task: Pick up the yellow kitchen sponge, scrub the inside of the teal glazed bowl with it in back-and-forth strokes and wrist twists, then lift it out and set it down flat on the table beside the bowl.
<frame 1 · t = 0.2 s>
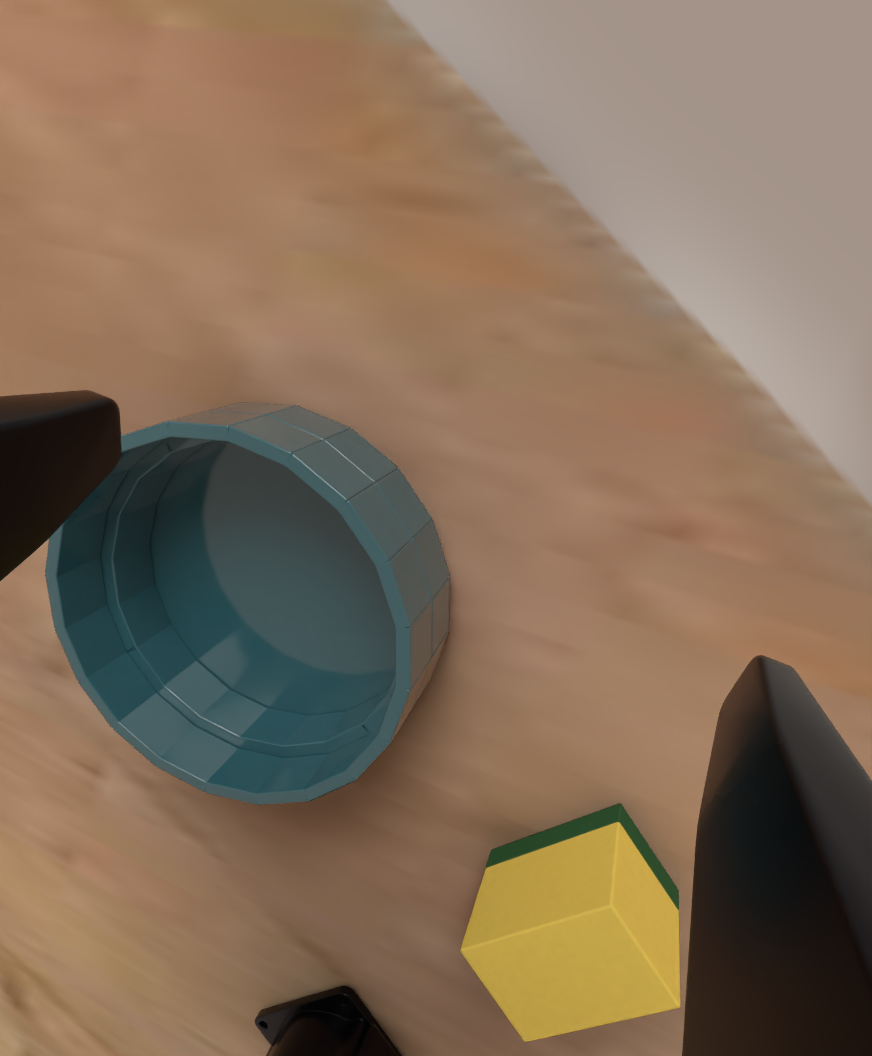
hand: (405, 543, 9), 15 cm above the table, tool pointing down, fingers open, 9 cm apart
sponge: (581, 868, 28), on the table
bowl: (288, 574, 28), on the table
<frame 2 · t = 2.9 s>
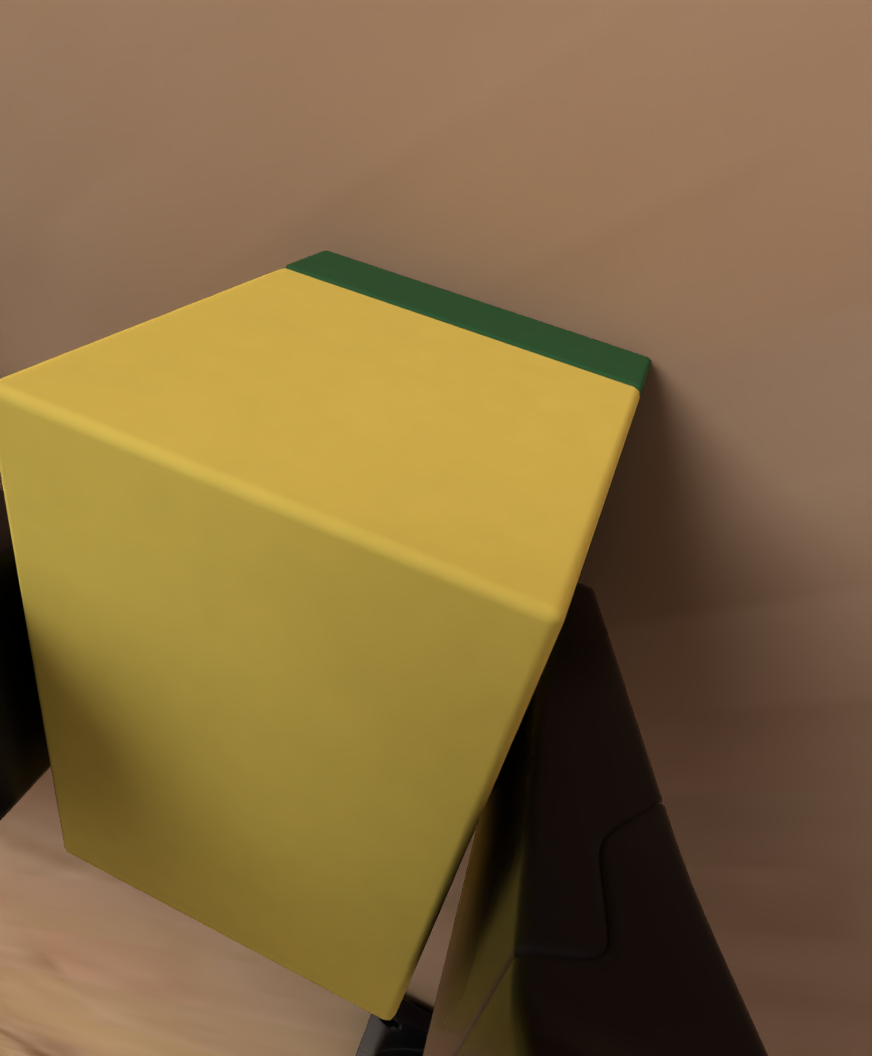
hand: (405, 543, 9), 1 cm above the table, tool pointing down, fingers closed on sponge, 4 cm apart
sponge: (431, 505, 10), on the table, touching gripper
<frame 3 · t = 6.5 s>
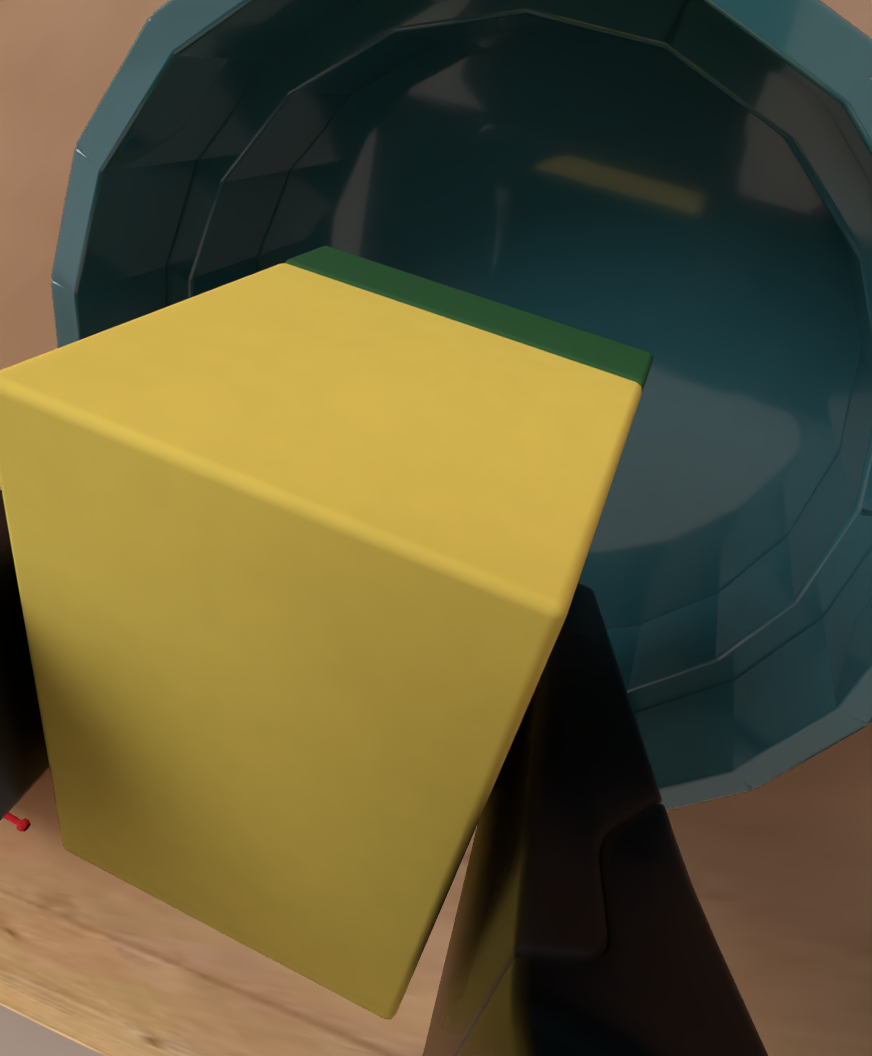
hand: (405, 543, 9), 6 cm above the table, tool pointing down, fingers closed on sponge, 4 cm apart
sponge: (431, 502, 10), point 5 cm above the table, touching gripper
bowl: (522, 379, 15), on the table
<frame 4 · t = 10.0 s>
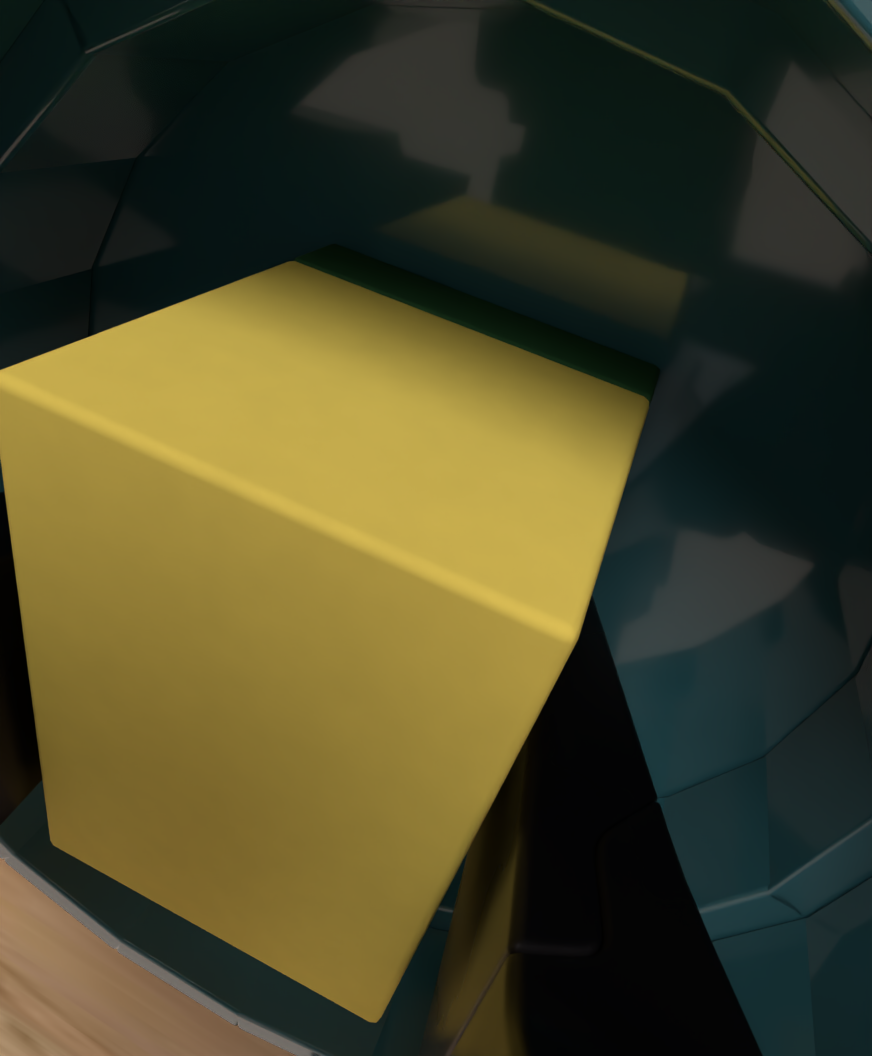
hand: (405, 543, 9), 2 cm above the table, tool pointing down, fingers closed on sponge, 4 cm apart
sponge: (430, 505, 10), point 1 cm above the table, touching gripper
bowl: (446, 492, 11), on the table
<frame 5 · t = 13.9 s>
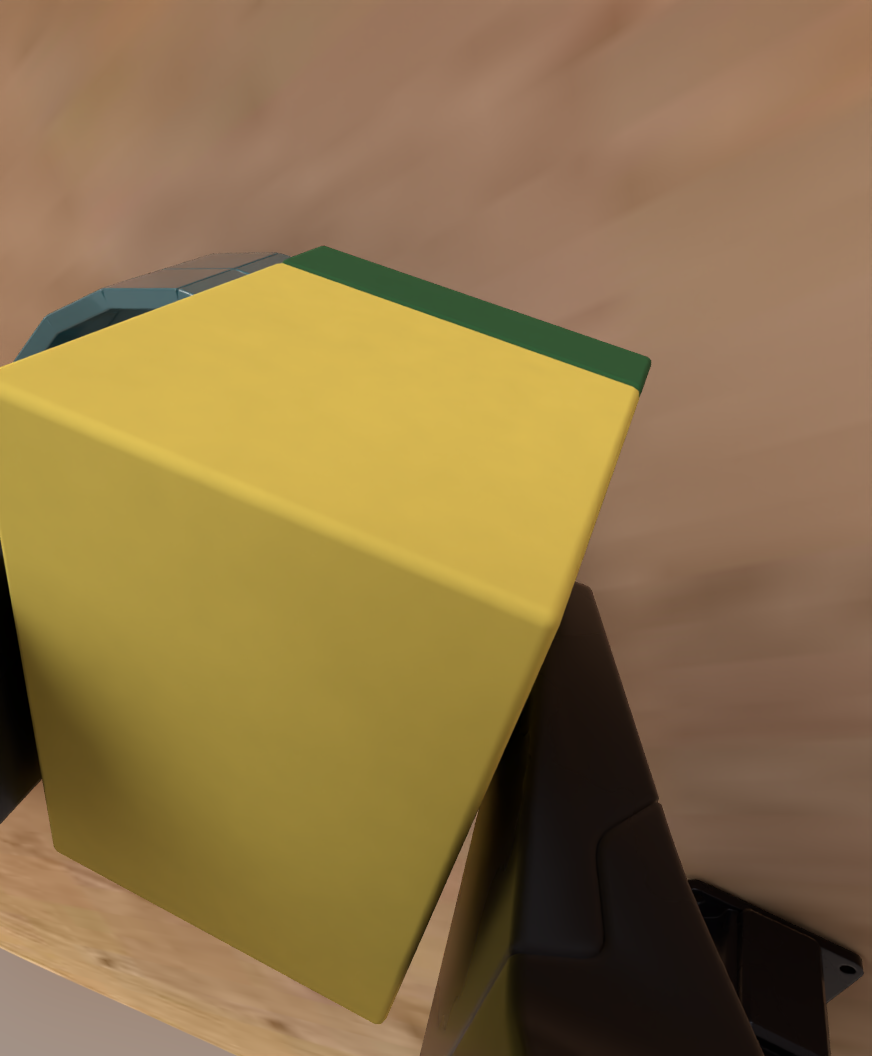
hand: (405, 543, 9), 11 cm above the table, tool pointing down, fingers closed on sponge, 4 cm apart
sponge: (427, 504, 10), point 10 cm above the table, touching gripper
bowl: (298, 467, 24), on the table
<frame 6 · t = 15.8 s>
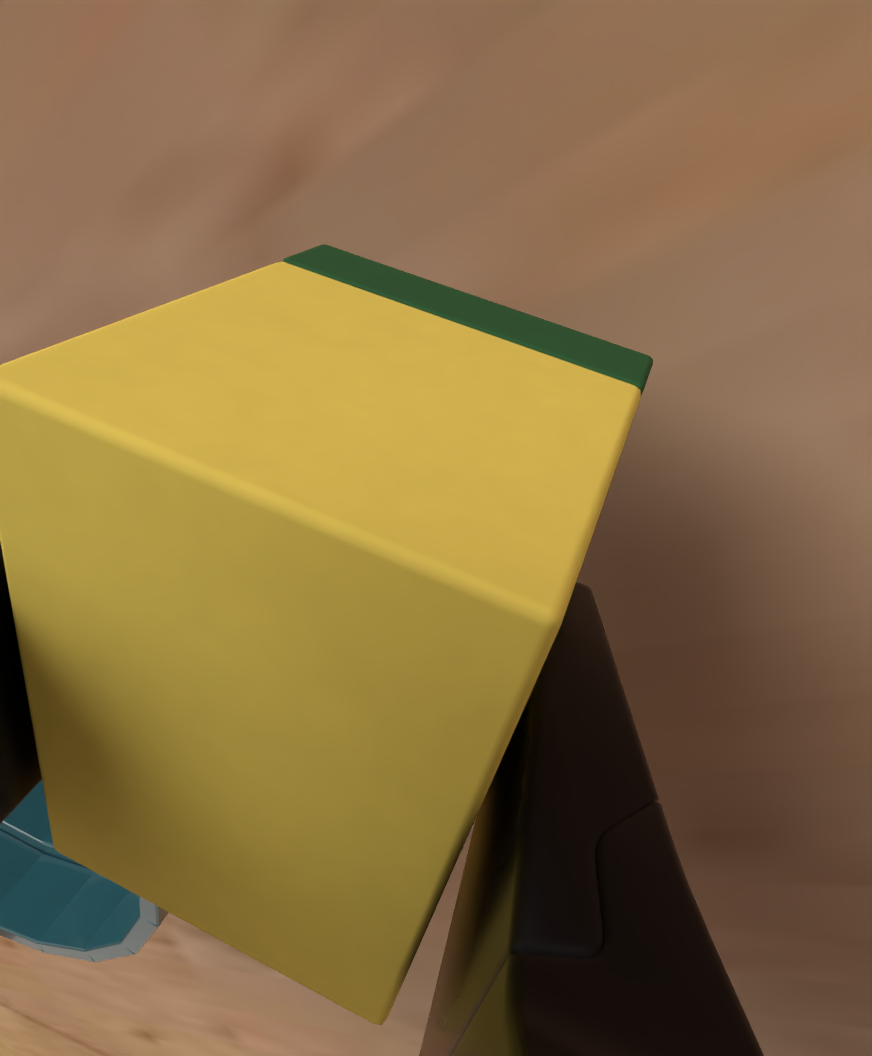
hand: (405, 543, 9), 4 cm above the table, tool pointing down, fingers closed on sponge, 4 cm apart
sponge: (428, 504, 10), point 3 cm above the table, touching gripper
bowl: (68, 633, 20), on the table
when the fingers open (1 cm above the table, at t = 17.0 s): sponge stays where it is, on the table.
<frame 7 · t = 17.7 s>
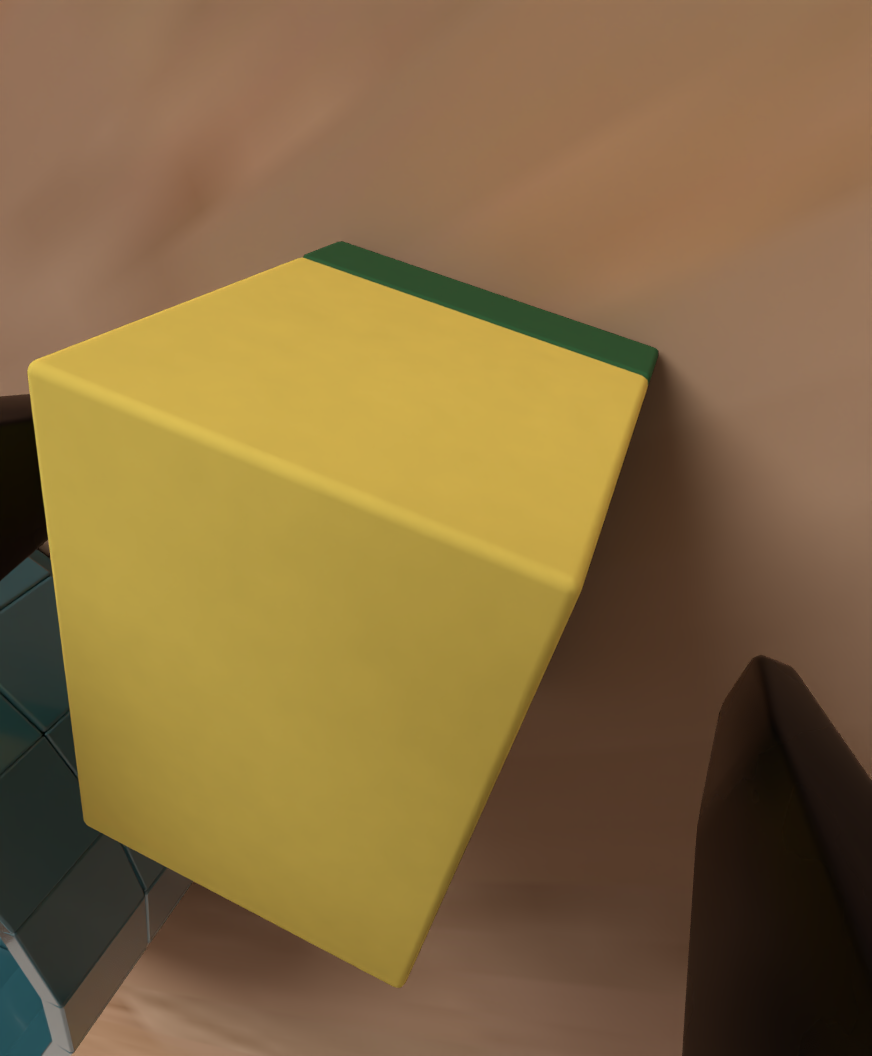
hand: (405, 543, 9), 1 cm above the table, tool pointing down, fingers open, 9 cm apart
sponge: (440, 493, 10), on the table
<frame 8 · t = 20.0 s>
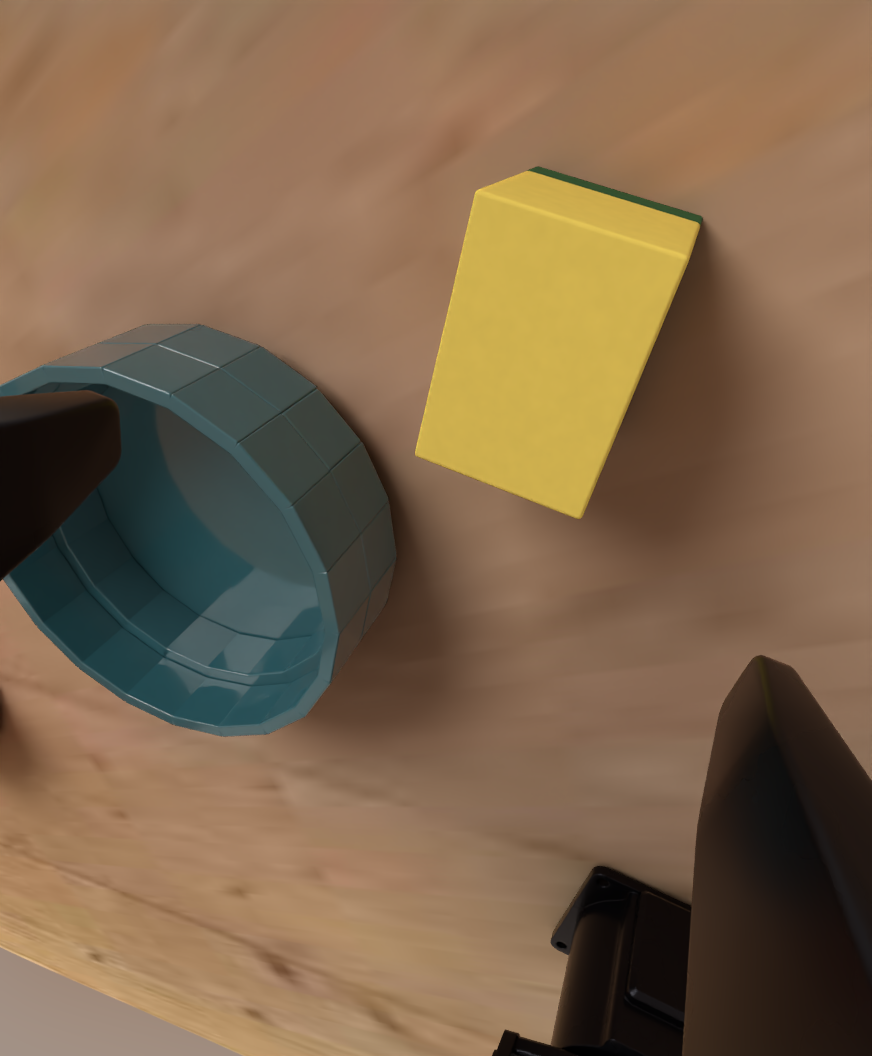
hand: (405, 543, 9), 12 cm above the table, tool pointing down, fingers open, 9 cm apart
sponge: (577, 310, 19), on the table
bowl: (233, 502, 27), on the table
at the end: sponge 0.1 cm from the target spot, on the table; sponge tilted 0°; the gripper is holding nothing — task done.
